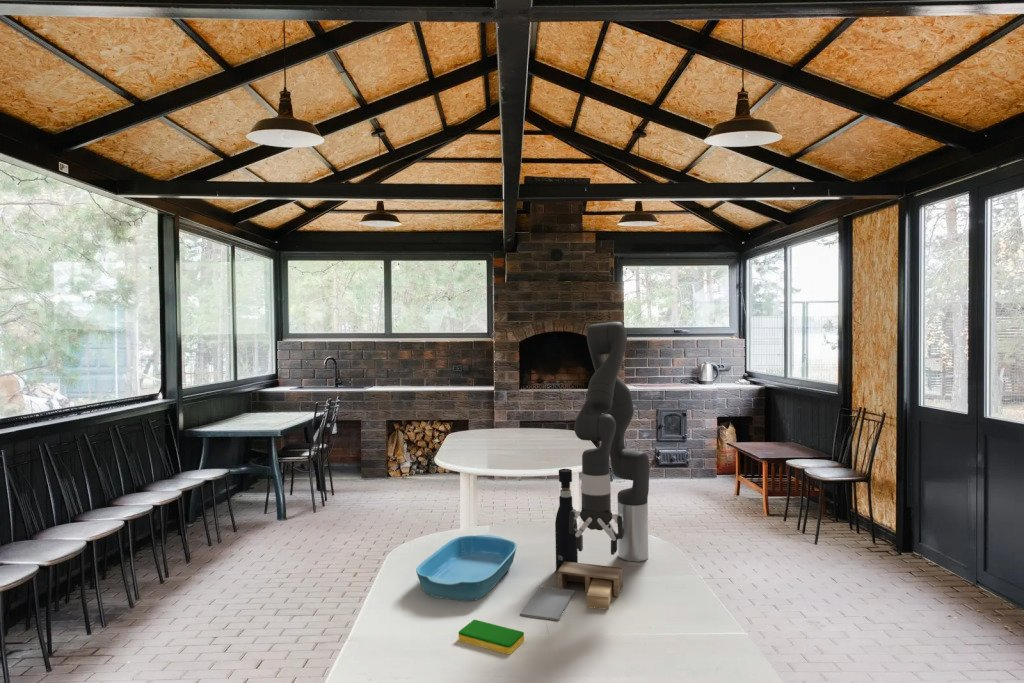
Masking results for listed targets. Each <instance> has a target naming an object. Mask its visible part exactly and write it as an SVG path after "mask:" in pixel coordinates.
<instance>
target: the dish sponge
mask: <svg viewBox="0 0 1024 683" xmlns="http://www.w3.org/2000/svg"><path fill="white" fill-rule="evenodd" d="M458 641H459V642H463V643H466V644H469V645H473V646H477V647H480V648H485V649H488V650H491V651H495V652H498V653H502V654H505V653H506V654H505V655H511V654H512V653H513V652H514V651H515V650H516V649H517V648H518V647H519V646H521V645H522V644H523V642H525V632H524V631H521V630H517V629H513V628H509V627H505V626H502V625H498V624H494V623H489V622H486V621H483V620H482V621H481V620H477V619H472V620H471V621H470V622H469V623H468V624H466V625H465V626H463V628H461V629H460V630H459V631H458Z"/></svg>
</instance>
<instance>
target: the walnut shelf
mask: <svg viewBox="0 0 1024 683" xmlns="http://www.w3.org/2000/svg"><path fill="white" fill-rule="evenodd" d="M593 577H594V578H602V579H611V580H614V589H613V597H614V596H617V597H616V598H619V596H620V593H621V591H622V588H623V587H624V586H623V567H618V566H609V565H601V564H599V565H598V564H591V563H584V562H583V563H581V562H578V563H575V562H566V561H564V562H563V564H562V565H561V567H560V568H559V570H558V573H557V588H558V589H565V586H566V584H567V583H568V582H575V583H581V582H582V584H584V586H585V587H584V589H585V594H587V593H588V590H589V587H590V584H591V581H592V578H593Z"/></svg>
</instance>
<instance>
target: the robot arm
mask: <svg viewBox="0 0 1024 683" xmlns="http://www.w3.org/2000/svg"><path fill="white" fill-rule="evenodd" d="M627 334H628V333H627V330H626V327H625V325H624V324H623V322H621V321H611V322H610V321H609V322H600V323H594V324H593V323H592V324H590V325H588V327H587V329H586V342H587V347H588V350H589V354H590V358H591V361H592V365H593V368H594V371H595V372H594V373H593V374H592V376H591V378H590V380H589V382H588V384H587V385H588V387H587V392H586V399H585V402H584V403H583V405H582V408H581V409H580V411H579V413H578V415H577V416H576V419H575V421H574V428H573V429H574V434H575V436H576V437H577V438H578V439H579V440H582V441H591V442H592V441H593V442H601V443H600V446H598V447H595V448H590V449H585V450H584V451H583V452H582V454H581V455H582V456H581V470H582V471H581V474H582V475H581V481H580V482H581V484H580V490H581V493H580V494H581V510H580V511H579V510H576V509H574V508H573V510H572V511H571V512H570V514H569V534H573V535H575V536H576V548H577V549H578V552H582V551H583V550H584V546H583V544H584V542H583V541H584V535H583V533H584V532H585V530H586V529H589V530H592V531H593V530H597V531H601V532H602V531H604V532H605V533H606V535H608V537H609V538H610V539H611V540H610V555H611V556H612V555H613V556H615V554H616V553H617V554H618V555H617V556H618V557H619V558H620V559H621V560H623V561H628V562H643V561H646V560H648V559H649V516H648V514H649V512H648V511H649V510H648V509H649V508H648V507H649V506H648V504H649V503H648V501H649V500H648V499H649V498H648V496H649V490H650V464H651V463H650V458H649V455H648V454H647V452H646V451H642V450H636V449H635V450H634V449H627V448H626V445H625V434H626V432H627V430H628V428H629V425H630V423H632V422H631V421H632V420H633V416H634V413H635V412H634V411H635V410H634V404H633V399H632V393H631V390H630V389H629V387H628V386H627V384H626V383H625V382H624V381H623V380H622V379H621V378H620V376H618V374H619V371H620V368H621V366H622V363H623V360H624V356H625V353H626V349H627V344H628V336H627ZM606 355H608V356H607V357H606ZM610 465H611V470H612V473H613V475H614V476H615V477H616V478H617V479H621V480H627V481H628V480H629V481H632V487H629V488H625V489H624V488H623V489H621V490H619V491H618V492H617V514H613V513H612V509H611V508H612V506H611V500H612V499H611V496H612V495H611V493H612V492H611V491H612V490H611V488H612V487H611V476H610ZM579 517H580V519H581V520H582V522H583V523H582V525H580V527H579V529H578V528H577V529H575V524H576V520H577V519H578V518H579ZM612 520H614V523H615V524H616V525H617V532H616V530H614V527H613V525H612V524H611V522H612Z"/></svg>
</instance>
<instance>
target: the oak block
mask: <svg viewBox="0 0 1024 683" xmlns="http://www.w3.org/2000/svg"><path fill="white" fill-rule="evenodd" d="M613 588H614V580H611V579H602V578H594V577H593V578H592V581H591V584H590V587H589V590H588V593H586V607H587V608H589V607H593V608H592V609H599V608H605V609H604V610H609V609H610V606H609V605H611V602H610V601H612V598H613V594H614V589H613ZM594 607H595V608H594Z"/></svg>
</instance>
